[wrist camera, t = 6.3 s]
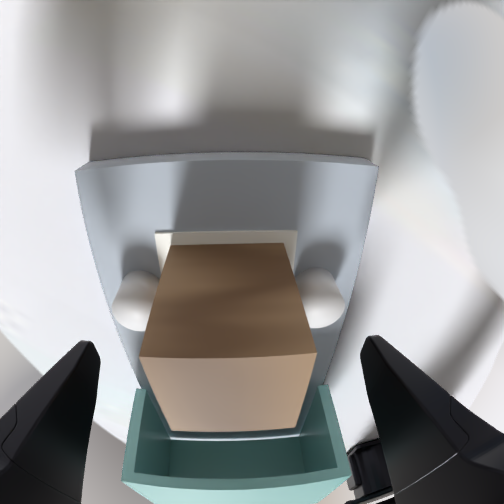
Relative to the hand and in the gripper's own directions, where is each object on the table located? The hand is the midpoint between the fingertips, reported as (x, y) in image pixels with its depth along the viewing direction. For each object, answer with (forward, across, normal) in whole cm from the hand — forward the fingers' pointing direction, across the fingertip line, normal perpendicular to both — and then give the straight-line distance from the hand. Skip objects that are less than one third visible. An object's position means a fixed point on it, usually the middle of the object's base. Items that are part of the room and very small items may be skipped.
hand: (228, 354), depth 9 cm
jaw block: (+3, 0, 0) cm, 3 cm away
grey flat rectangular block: (+4, 0, +8) cm, 9 cm away
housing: (+3, 0, +11) cm, 11 cm away
